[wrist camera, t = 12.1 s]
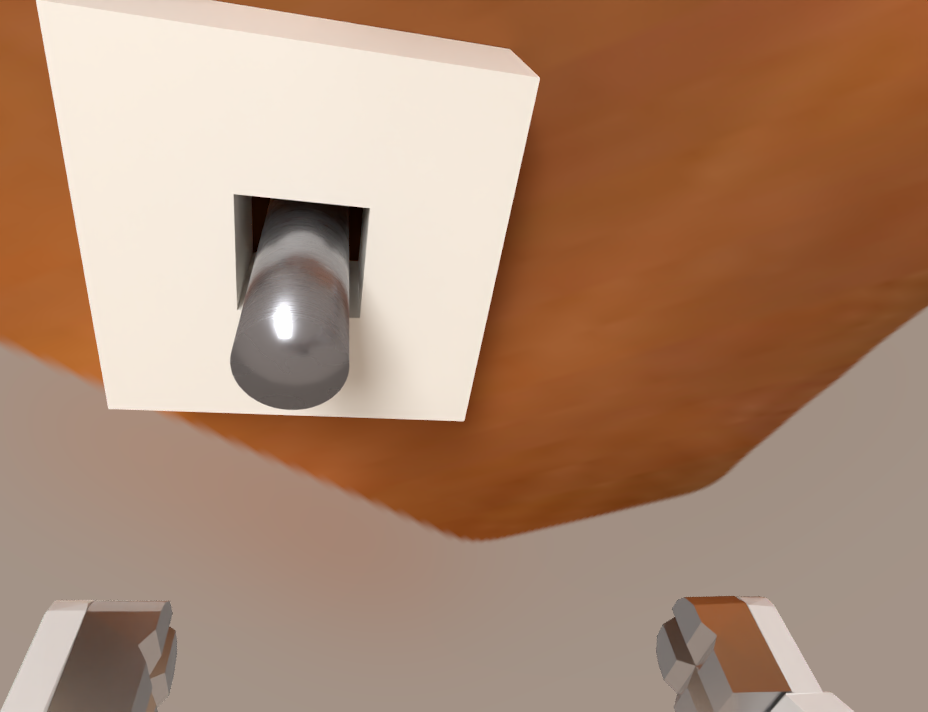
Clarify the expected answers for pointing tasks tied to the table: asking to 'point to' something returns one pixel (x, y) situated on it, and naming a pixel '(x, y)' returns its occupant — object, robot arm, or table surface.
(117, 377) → the hole block
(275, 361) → the long pin
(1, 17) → the table surface
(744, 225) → the table surface
